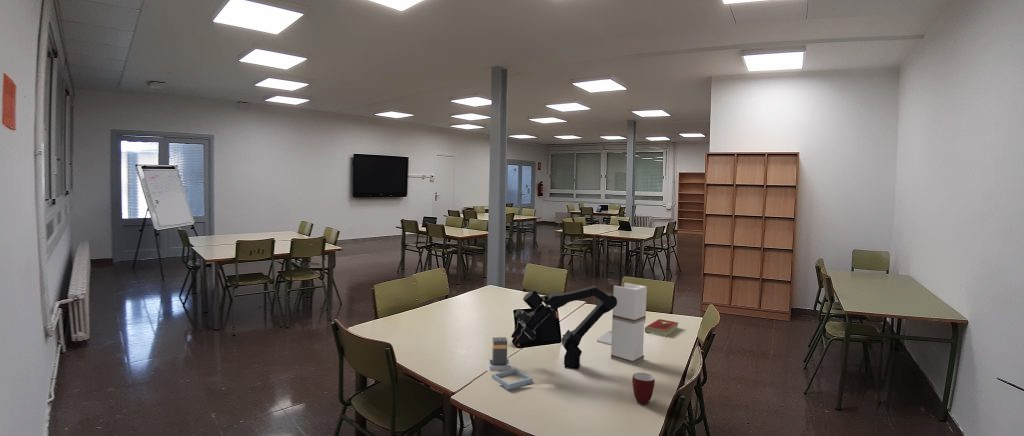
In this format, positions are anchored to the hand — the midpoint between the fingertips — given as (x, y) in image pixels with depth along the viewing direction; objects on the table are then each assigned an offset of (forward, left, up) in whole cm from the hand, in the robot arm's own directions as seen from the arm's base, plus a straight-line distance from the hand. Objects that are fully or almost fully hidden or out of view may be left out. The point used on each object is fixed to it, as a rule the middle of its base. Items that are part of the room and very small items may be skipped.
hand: (513, 340), depth 209 cm
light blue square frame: (-4, +15, -12) cm, 20 cm away
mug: (-56, +17, -12) cm, 59 cm away
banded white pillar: (-50, -27, -12) cm, 58 cm away
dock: (+5, +2, -12) cm, 14 cm away
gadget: (-46, -55, -13) cm, 73 cm away
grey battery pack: (+5, +2, -11) cm, 13 cm away
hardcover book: (-69, -80, -13) cm, 106 cm away
